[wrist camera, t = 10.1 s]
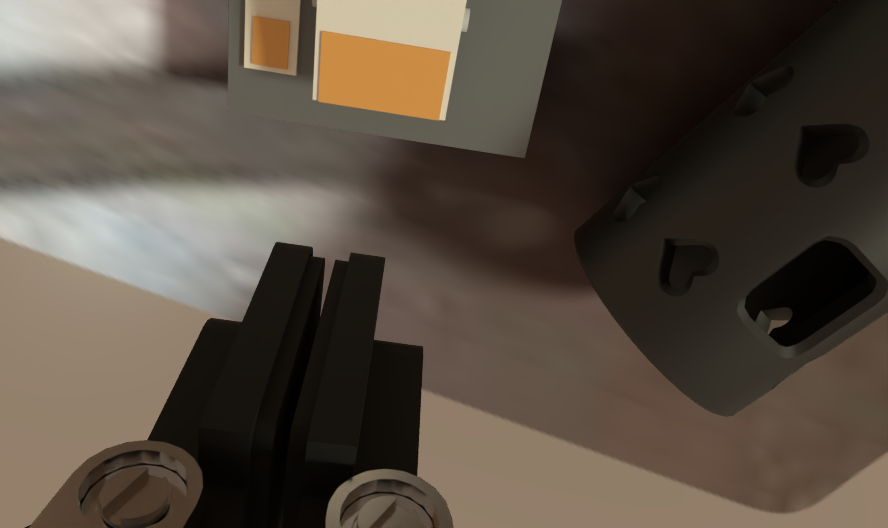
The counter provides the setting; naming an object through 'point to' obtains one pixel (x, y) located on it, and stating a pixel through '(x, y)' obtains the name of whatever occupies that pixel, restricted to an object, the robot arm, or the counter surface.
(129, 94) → the counter surface
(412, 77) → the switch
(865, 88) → the muzzle brake
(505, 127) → the switch unit
